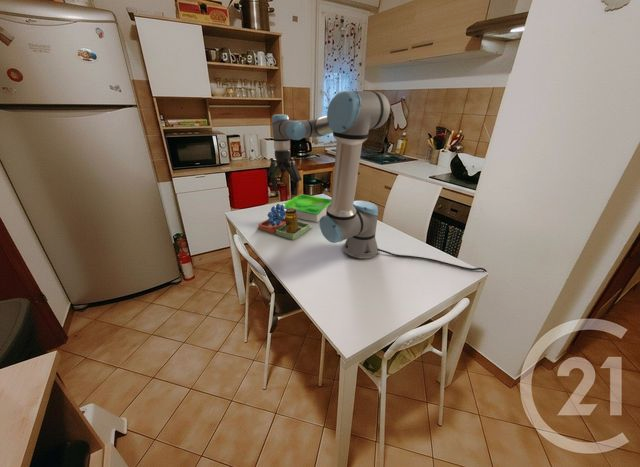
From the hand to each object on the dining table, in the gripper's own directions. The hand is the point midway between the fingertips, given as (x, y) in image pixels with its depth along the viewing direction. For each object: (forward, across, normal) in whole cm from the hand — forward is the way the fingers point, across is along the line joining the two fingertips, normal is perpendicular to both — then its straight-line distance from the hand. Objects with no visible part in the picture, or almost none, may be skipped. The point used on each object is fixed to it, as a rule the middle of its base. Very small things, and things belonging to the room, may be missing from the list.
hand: (285, 192), depth 136 cm
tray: (+19, +1, -22) cm, 29 cm away
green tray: (+19, -8, +5) cm, 21 cm away
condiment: (+18, -8, +5) cm, 21 cm away
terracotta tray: (+19, +4, +4) cm, 20 cm away
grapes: (+18, +4, +4) cm, 19 cm away
